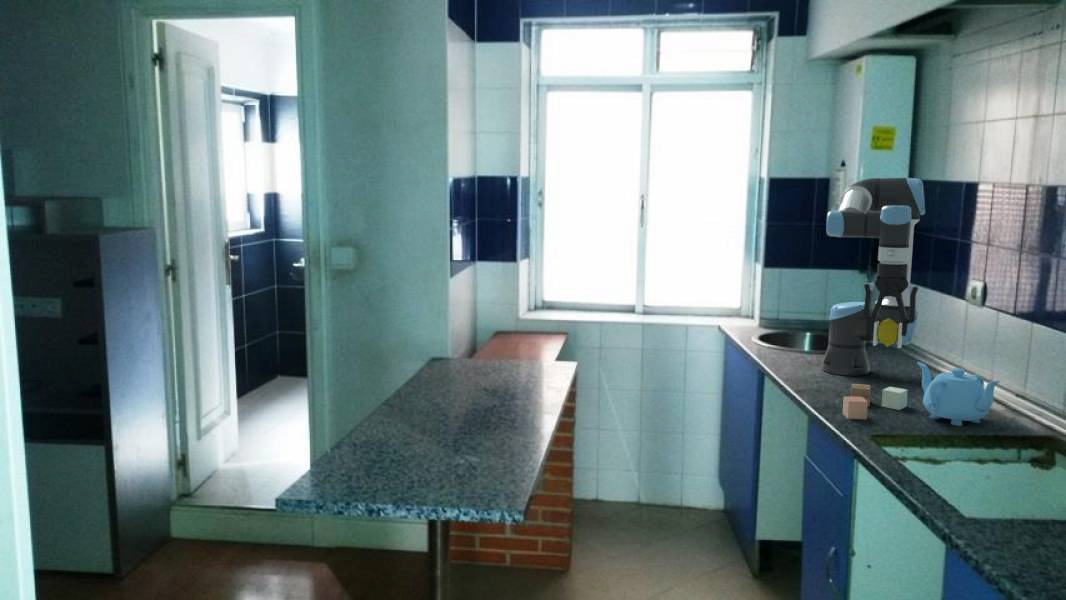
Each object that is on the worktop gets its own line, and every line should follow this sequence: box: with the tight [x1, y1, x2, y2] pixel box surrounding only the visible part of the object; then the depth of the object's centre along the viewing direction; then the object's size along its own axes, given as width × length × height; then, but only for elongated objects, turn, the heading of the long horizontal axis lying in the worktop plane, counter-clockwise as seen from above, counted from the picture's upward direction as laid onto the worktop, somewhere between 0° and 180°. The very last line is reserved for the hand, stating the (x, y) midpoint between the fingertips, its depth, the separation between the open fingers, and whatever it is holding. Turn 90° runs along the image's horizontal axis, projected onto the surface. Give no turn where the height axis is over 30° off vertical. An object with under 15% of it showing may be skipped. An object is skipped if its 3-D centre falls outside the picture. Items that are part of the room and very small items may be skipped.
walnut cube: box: [850, 383, 872, 407], centre depth 231 cm, size 5×5×5 cm
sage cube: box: [881, 386, 908, 411], centre depth 227 cm, size 5×5×5 cm
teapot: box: [916, 361, 1001, 427], centre depth 214 cm, size 16×20×14 cm
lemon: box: [877, 319, 899, 348], centre depth 219 cm, size 6×6×8 cm
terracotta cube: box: [842, 395, 869, 420], centre depth 218 cm, size 5×5×5 cm
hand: (887, 345), depth 220 cm, fingers closed on lemon, 5 cm apart
